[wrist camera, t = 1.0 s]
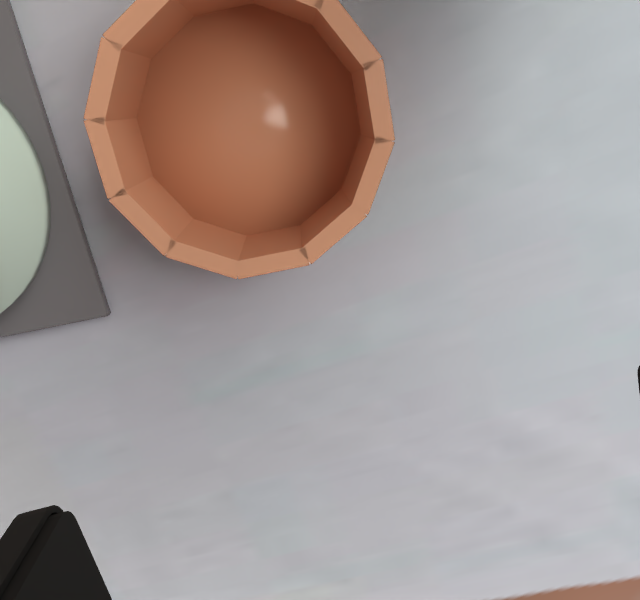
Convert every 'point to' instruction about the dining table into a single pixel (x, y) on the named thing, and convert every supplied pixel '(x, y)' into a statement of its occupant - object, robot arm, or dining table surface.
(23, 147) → the lid
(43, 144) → the mat
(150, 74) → the bowl
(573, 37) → the dining table surface
